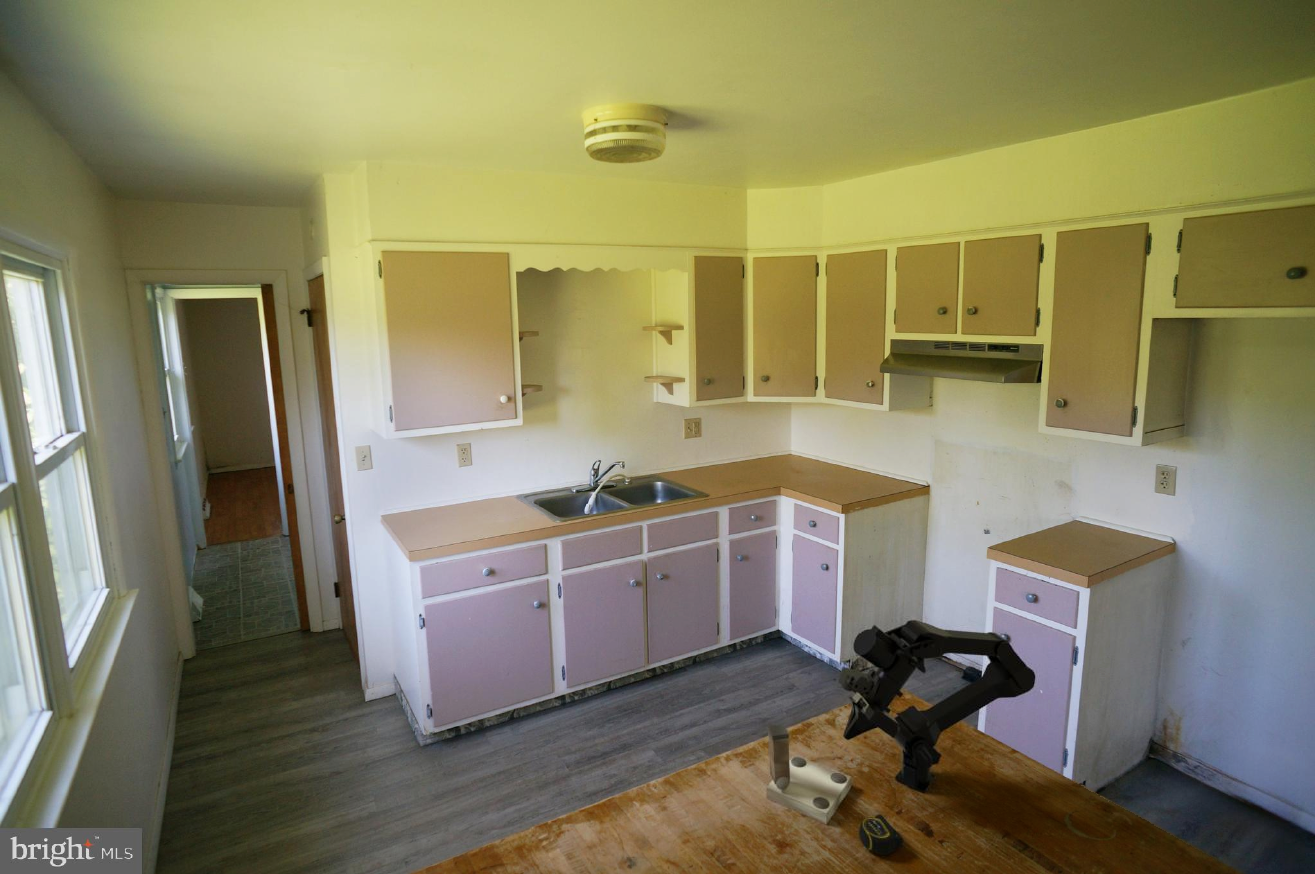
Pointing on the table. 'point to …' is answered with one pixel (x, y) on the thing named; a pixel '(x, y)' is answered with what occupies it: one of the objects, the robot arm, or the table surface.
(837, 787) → the stool seat
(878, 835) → the tape measure
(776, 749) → the folding leg
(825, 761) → the table surface
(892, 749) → the table surface
